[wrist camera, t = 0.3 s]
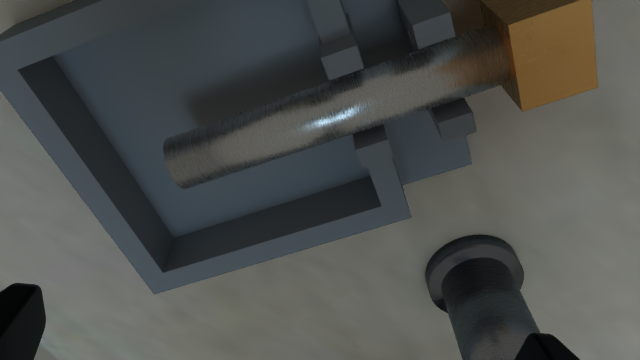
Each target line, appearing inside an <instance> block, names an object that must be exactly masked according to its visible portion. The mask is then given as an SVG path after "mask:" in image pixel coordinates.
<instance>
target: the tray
mask: <svg viewBox="0 0 640 360" xmlns="http://www.w3.org/2000/svg"><path fill="white" fill-rule="evenodd" d="M455 36H456V35H455V31H454V26H453V22H452V17H451V13H450V11H449V10H448V9H447V7H446V6H445V5H444V4H443V3H442V2H441V0H75V1H72V2H70V3H67V4H65V5H63V6H60V7H58V8H55V9H53V10H50V11H48V12H45V13H43V14H41V15H38V16H36V17H33V18H31V19H28V20H26V21H24V22H21V23H19V24H16V25H14V26H12V27H11V28H9V29H8V30H6V31H5V32H3V33H2V34H0V90H1V92H2V93H3V94H4V96H5V97H6V98H7V100H8V101H9V102H10V104H11V105H12V106H13V108H14V109H15V110H16V112H17V113H18V114H19V116H20V117H21V118H22V119H23V121H24V122H25V123H26V125H27V126H28V127H29V129H30V130H31V131H32V133H33V134H34V135H35V137H36V138H37V139H38V141H39V142H40V143H41V145H42V146H43V147H44V149H45V150H46V151H47V153H48V154H49V155H50V157H51V158H52V159H53V161H54V162H55V163H56V165H57V166H58V167H59V169H60V170H61V171H62V173H63V174H64V175H65V177H66V178H67V179H68V181H69V182H70V183H71V185H72V186H73V187H74V189H75V190H76V191H77V193H78V194H79V195H80V196H81V198H82V199H83V200H84V202H85V203H86V204H87V206H88V207H89V208H90V210H91V211H92V212H93V214H94V215H95V216H96V218H97V219H98V220H99V222H100V223H101V224H102V226H103V227H104V228H105V230H106V231H107V232H108V234H109V235H110V236H111V238H112V239H113V240H114V242H115V243H116V244H117V246H118V247H119V248H120V250H121V251H122V252H123V254H124V255H125V256H126V258H127V259H128V260H129V262H130V263H131V264H132V266H133V267H134V268H135V270H136V271H137V272H138V273H139V275H140V276H141V277H142V279H143V280H144V281H145V283H146V284H147V285H148V287H149V288H150V289H151V291H152V292H153V293H154V294H157V293H160V292H164V291H167V290H170V289H174V288H177V287H180V286H184V285H187V284H190V283H194V282H197V281H200V280H204V279H207V278H210V277H214V276H217V275H220V274H224V273H227V272H230V271H234V270H237V269H241V268H244V267H247V266H251V265H254V264H257V263H261V262H264V261H267V260H271V259H274V258H277V257H281V256H284V255H287V254H291V253H294V252H297V251H301V250H304V249H308V248H311V247H314V246H318V245H321V244H324V243H328V242H331V241H334V240H338V239H341V238H344V237H348V236H351V235H354V234H358V233H361V232H364V231H368V230H371V229H374V228H378V227H381V226H385V225H388V224H391V223H395V222H398V221H401V220H405V219H408V218H411V214H410V210H409V207H408V204H407V200H406V197H405V193H404V190H403V187H402V185H405V184H408V183H411V182H414V181H418V180H421V179H424V178H427V177H431V176H434V175H437V174H440V173H444V172H447V171H450V170H453V169H456V168H460V167H463V166H466V165H469V164H472V162H471V158H470V154H469V150H468V145H467V141H466V137H465V135H467V134H470V133H474V132H477V131H476V126H475V121H474V117H473V112H472V111H471V109H470V107H469V106H468V104H467V103H466V101H465V99H464V98H460V99H457V100H454V101H451V102H448V103H445V104H442V105H439V106H436V107H433V108H430V109H427V110H424V111H421V112H418V113H415V114H412V115H409V116H406V117H403V118H400V119H397V120H394V121H391V122H388V123H385V124H382V125H379V126H376V127H373V128H370V129H367V130H364V131H361V132H358V133H355V134H352V135H349V136H346V137H343V138H340V139H336V140H333V141H330V142H327V143H324V144H321V145H318V146H315V147H312V148H309V149H306V150H303V151H300V152H297V153H294V154H291V155H288V156H285V157H282V158H279V159H276V160H273V161H270V162H267V163H264V164H261V165H258V166H255V167H252V168H249V169H246V170H243V171H240V172H237V173H234V174H231V175H228V176H225V177H222V178H219V179H216V180H213V181H210V182H206V183H203V184H200V185H197V186H194V187H191V188H188V189H182V188H180V187H179V186H178V185H177V184H176V183H175V181H174V180H173V179H172V177H171V175H170V173H169V171H168V169H167V166H166V163H165V159H164V154H163V145H164V141H165V140H166V139H167V138H169V137H172V136H175V135H178V134H181V133H183V132H186V131H189V130H192V129H195V128H198V127H201V126H203V125H206V124H209V123H212V122H215V121H218V120H221V119H223V118H226V117H229V116H232V115H235V114H238V113H241V112H243V111H246V110H249V109H252V108H255V107H258V106H261V105H263V104H266V103H269V102H272V101H275V100H278V99H280V98H283V97H286V96H289V95H292V94H295V93H298V92H300V91H303V90H306V89H309V88H312V87H315V86H318V85H320V84H323V83H326V82H329V81H332V80H335V79H338V78H340V77H343V76H346V75H349V74H352V73H355V72H358V71H360V70H363V69H366V68H369V67H372V66H375V65H378V64H380V63H383V62H386V61H389V60H392V59H395V58H398V57H400V56H403V55H406V54H409V53H412V52H415V51H418V50H420V49H423V48H426V47H429V46H432V45H435V44H438V43H440V42H443V41H446V39H449V38H452V37H455Z"/></svg>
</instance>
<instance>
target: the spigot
mask: <svg viewBox="0 0 640 360" xmlns="http://www.w3.org/2000/svg"><path fill="white" fill-rule="evenodd" d="M425 275H426V282H427V286H428V289H429V293H430V296H431V298H432V301H433V302H434V303H435V305H436V306H437V307H438V308H440V309H441V310H443V311H445V312H447V313H448V314H449V318H450V321H451V324H452V327H453V330H454V334H455V337H456V340H457V343H458V347H459V350H460V353H461V356H462V359H463V360H514V359H515V357H516V355H517V354H518V352H519V350H520V348H521V347H522V345H523V343H524V341H525V339H526V338H527V336H528V335H529V334H531V333H540V331H539V329H538V327H537V325H536V323H535V321H534V319H533V317H532V314H531V312H530V310H529V308H528V306H527V304H526V302H525V300H524V298H523V296H522V294H521V292H520V289H521V286H522V284H523V280H524V272H523V268H522V266H521V264H520V262H519V260H518V258H517V256H516V254H515V252H514V250H513V249H512V248H511V246H510V245H509V244H507V243H506V242H505V241H503V240H501V239H499V238H496V237H493V236H488V235H472V236H466V237H462V238H459V239H456V240H454V241H452V242H450V243H448V244H446V245H444V246H443V247H442V248H440V249H439V250H438V251H437V252H436V253H435V254H434V255H433V256H432V258H431V259H430V261H429V263H428V265H427V268H426V274H425Z"/></svg>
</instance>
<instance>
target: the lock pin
mask: <svg viewBox="0 0 640 360" xmlns="http://www.w3.org/2000/svg"><path fill="white" fill-rule="evenodd" d="M480 6H481V11H482V16H483V22H484V27H483V28H480V29H478V30H475V31H472V32H469V33H466V34H463V35H460V36H458V37H455V38H452V39H449V40H446V41H443V42H440V43H438V44H435V45H432V46H429V47H426V48H423V49H420V50H418V51H415V52H412V53H409V54H406V55H403V56H400V57H398V58H395V59H392V60H389V61H386V62H383V63H380V64H378V65H375V66H372V67H369V68H366V69H363V70H360V71H358V72H355V73H352V74H349V75H346V76H343V77H340V78H338V79H335V80H332V81H329V82H326V83H323V84H320V85H318V86H315V87H312V88H309V89H306V90H303V91H300V92H298V93H295V94H292V95H289V96H286V97H283V98H280V99H278V100H275V101H272V102H269V103H266V104H263V105H261V106H258V107H255V108H252V109H249V110H246V111H243V112H241V113H238V114H235V115H232V116H229V117H226V118H223V119H221V120H218V121H215V122H212V123H209V124H206V125H203V126H201V127H198V128H195V129H192V130H189V131H186V132H183V133H181V134H178V135H175V136H172V137H169V138H167V139H166V140H165V141H164V145H163V154H164V159H165V163H166V166H167V169H168V171H169V173H170V175H171V177H172V179H173V180H174V181H175V183H176V184H177V185H178V186H179V187H180V188H182V189H188V188H191V187H194V186H197V185H200V184H203V183H206V182H210V181H213V180H216V179H219V178H222V177H225V176H228V175H231V174H234V173H237V172H240V171H243V170H246V169H249V168H252V167H255V166H258V165H261V164H264V163H267V162H270V161H273V160H276V159H279V158H282V157H285V156H288V155H291V154H294V153H297V152H300V151H303V150H306V149H309V148H312V147H315V146H318V145H321V144H324V143H327V142H330V141H333V140H336V139H340V138H343V137H346V136H349V135H352V134H355V133H358V132H361V131H364V130H367V129H370V128H373V127H376V126H379V125H382V124H385V123H388V122H391V121H394V120H397V119H400V118H403V117H406V116H409V115H412V114H415V113H418V112H421V111H424V110H427V109H430V108H433V107H436V106H439V105H442V104H445V103H448V102H451V101H454V100H457V99H460V98H463V97H466V96H470V95H473V94H476V93H479V92H482V91H485V90H488V89H491V88H494V87H497V86H500V85H501V86H502V87H503V88H504V90H505V91H506V92H507V93H508V95H509V96H510V97H511V98H512V100H513V101H514V102H515V103H516V105H517V106H518V107H519V108H520V109H521V111H522V112H523V111H526V110H529V109H532V108H535V107H538V106H541V105H544V104H548V103H551V102H554V101H557V100H560V99H563V98H566V97H569V96H572V95H576V94H579V93H582V92H585V91H588V90H591V89H594V88H597V87H598V82H597V68H596V54H595V41H594V27H593V13H592V0H480Z"/></svg>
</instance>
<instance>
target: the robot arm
mask: <svg viewBox="0 0 640 360" xmlns="http://www.w3.org/2000/svg"><path fill="white" fill-rule="evenodd" d="M45 323H46V315H45V309H44V302H43V296H42V291H41V288H40V287H39V286H38V285H34V284H24V283H14V284H12V285H10V286H8V287H7V288H5V289H4V290H2V291H1V292H0V360H34V357H35V355H36V352H37V349H38V346H39V343H40V341H41V338H42V335H43V332H44V329H45ZM514 360H580V359H579V358H578V357H577V356H575V355H574V354H573V353H572V352H571V351H570V350H569V349H568V348H567V347H566V346H565V345H563V344H562V343H561V342H560V341H559V340H558V339H557V338H556V337H554V336H553V335H551V334H544V333H531V334H529V335H528V336H527V338H526V339H525V341H524V343H523V345H522V347H521V348H520V350H519V352H518V354H517V355H516V357H515V359H514Z"/></svg>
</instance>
